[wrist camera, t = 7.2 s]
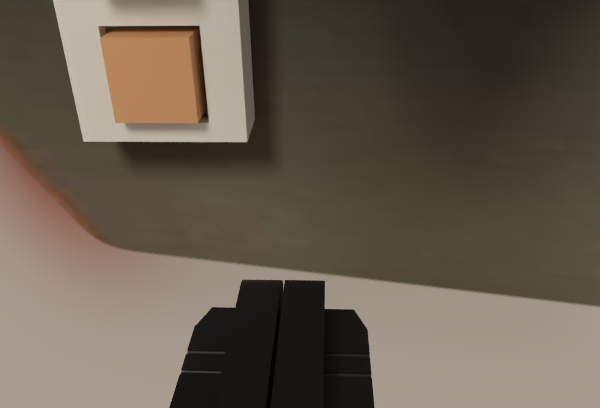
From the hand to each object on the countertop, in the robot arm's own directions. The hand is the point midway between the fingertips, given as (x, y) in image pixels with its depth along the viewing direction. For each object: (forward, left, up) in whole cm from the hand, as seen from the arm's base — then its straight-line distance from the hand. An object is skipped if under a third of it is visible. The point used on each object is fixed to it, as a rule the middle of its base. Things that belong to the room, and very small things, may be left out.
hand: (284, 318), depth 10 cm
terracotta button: (+2, -9, -25) cm, 27 cm away
